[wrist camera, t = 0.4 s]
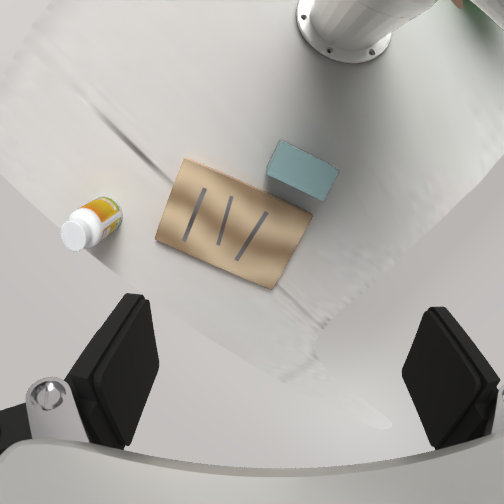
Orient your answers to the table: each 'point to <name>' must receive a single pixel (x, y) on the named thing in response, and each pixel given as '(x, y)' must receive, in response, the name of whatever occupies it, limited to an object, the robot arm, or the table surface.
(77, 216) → the supplement bottle
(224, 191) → the board
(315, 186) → the block
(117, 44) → the table surface
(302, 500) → the robot arm
